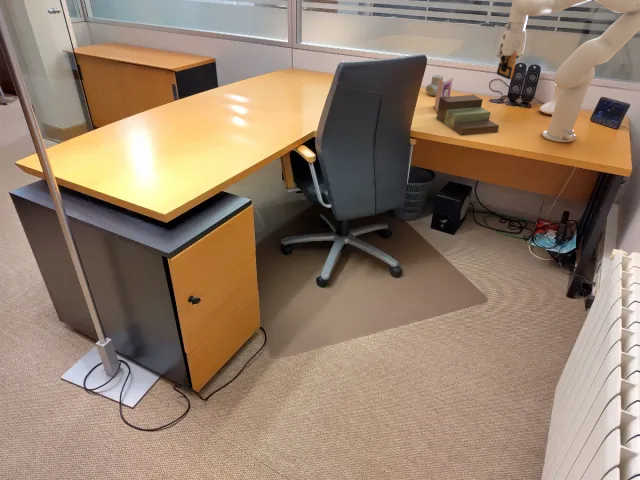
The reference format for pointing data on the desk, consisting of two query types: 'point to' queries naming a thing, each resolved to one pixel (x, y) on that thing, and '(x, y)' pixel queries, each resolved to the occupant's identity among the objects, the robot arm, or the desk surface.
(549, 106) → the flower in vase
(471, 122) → the step shelf
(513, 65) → the ammunition clip
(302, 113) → the desk surface
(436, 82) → the grey pipe tee fitting
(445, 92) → the greeting card
